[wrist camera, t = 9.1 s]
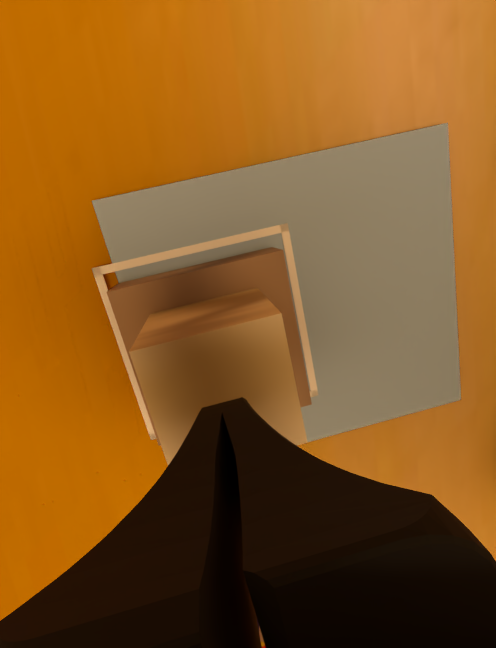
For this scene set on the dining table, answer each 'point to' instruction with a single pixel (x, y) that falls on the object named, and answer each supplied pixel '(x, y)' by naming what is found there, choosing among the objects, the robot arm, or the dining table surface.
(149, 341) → the maple cube
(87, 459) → the dining table surface
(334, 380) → the grey flat panel
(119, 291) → the walnut slab
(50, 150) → the dining table surface
